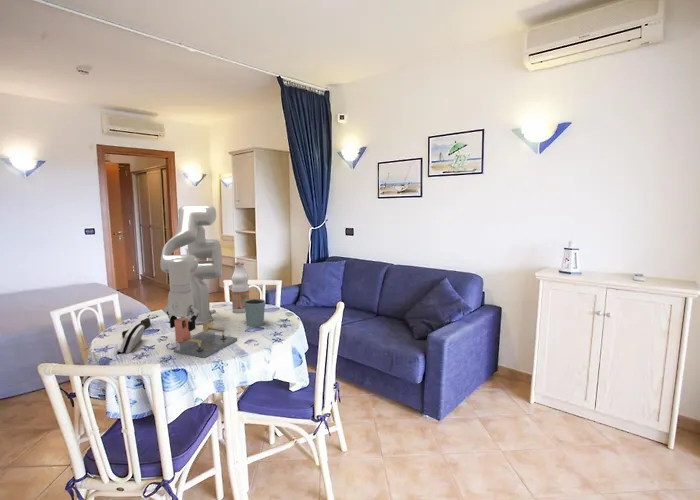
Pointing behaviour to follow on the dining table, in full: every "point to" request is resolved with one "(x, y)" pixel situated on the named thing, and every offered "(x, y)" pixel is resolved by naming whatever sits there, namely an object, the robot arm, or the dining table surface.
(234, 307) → the fruit juice
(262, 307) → the green cup
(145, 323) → the hand tool
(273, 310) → the dining table surface
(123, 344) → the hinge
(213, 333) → the grey clamp fixture plate
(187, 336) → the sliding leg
